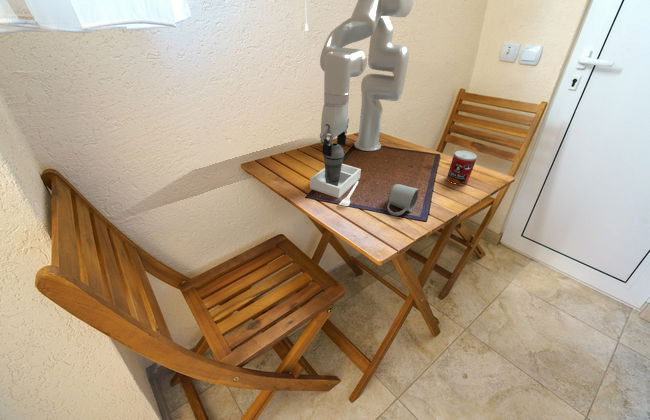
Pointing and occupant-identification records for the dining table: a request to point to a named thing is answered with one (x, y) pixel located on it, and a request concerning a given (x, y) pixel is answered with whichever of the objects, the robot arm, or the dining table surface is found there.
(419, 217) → the dining table surface
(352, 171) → the divided tray
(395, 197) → the ceramic mug
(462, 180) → the canned food
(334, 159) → the beverage cup
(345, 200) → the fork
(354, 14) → the robot arm
